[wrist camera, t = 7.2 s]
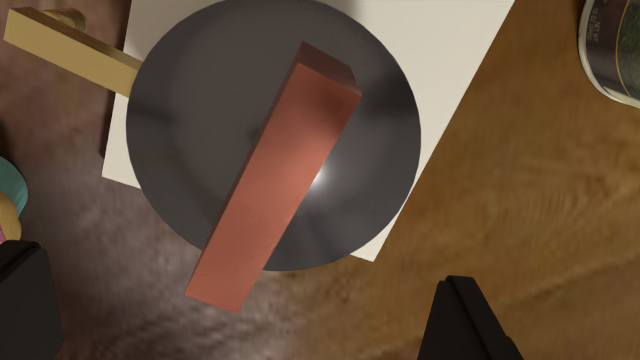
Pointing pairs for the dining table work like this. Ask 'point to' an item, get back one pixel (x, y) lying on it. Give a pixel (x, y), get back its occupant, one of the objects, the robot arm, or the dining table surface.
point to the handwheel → (254, 131)
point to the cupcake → (11, 200)
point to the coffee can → (612, 48)
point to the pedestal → (387, 26)
